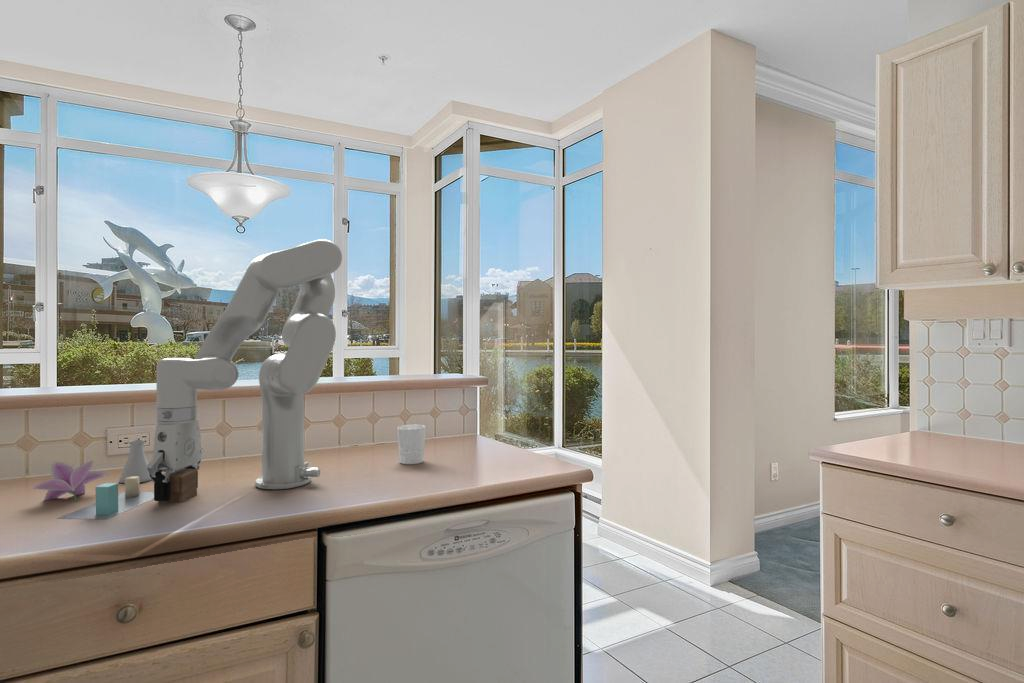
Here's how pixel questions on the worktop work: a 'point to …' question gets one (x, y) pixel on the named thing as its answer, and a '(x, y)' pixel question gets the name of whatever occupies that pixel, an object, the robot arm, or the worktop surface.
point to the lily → (69, 480)
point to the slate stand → (125, 502)
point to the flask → (136, 462)
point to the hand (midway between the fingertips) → (176, 494)
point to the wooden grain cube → (182, 485)
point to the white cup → (411, 443)
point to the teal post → (107, 498)
